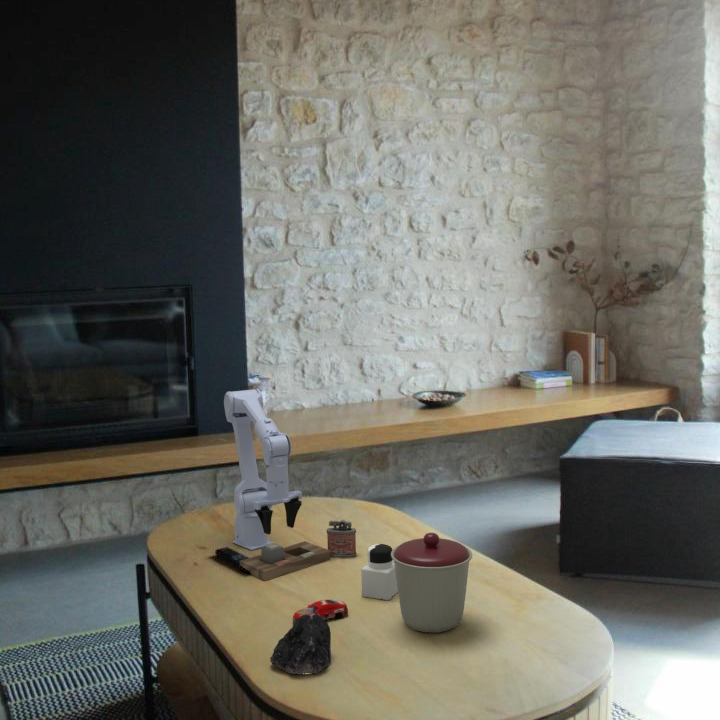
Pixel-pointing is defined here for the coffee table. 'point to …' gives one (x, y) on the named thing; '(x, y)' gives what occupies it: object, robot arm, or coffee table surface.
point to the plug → (272, 553)
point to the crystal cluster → (304, 646)
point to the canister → (431, 582)
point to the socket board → (287, 561)
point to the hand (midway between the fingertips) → (279, 530)
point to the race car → (324, 610)
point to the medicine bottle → (379, 573)
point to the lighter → (341, 539)
